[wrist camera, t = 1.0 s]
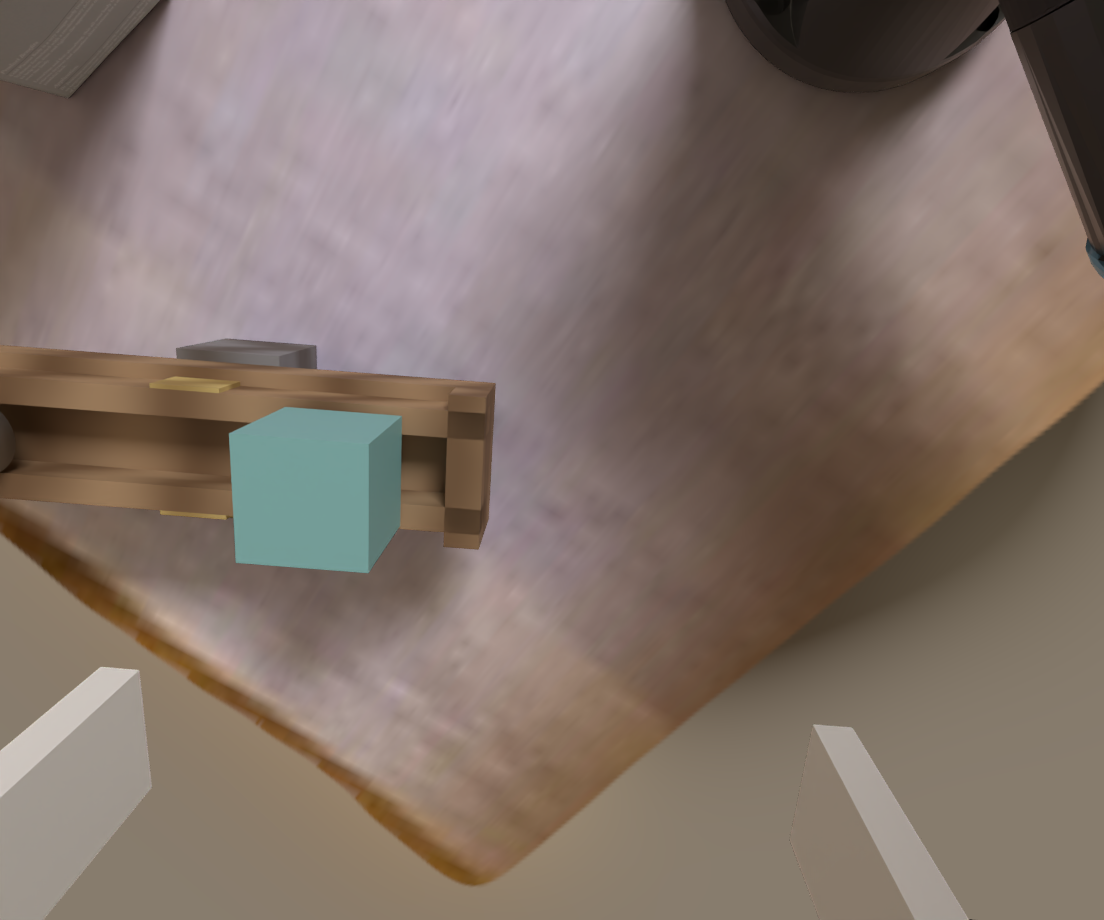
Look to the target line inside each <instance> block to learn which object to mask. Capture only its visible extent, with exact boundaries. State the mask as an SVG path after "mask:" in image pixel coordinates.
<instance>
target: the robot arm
mask: <svg viewBox="0 0 1104 920" xmlns="http://www.w3.org/2000/svg"><path fill="white" fill-rule="evenodd" d="M726 3H727V5H728V7H729V9H730V11H731V13H732V15H733V17H734V19H735V21H736V22H737V24H738V26H739V27H740V29H741V30H742V32H743V33H744V35H745V36H746V37H747V39H748V40H749V41H750V42H751V44H752V45H753V46H754V47H755V48H756V49H757V50H758V51H759V52H760V53H761V54H762V55H763V56H764V57H765V58H766V59H767V60H768V61H770V62H771V63H772V64H773V65H775V66H776V67H777V68H779V69H780V70H782V71H783V72H785V73H787V74H788V75H790V76H792V77H794V78H796V79H798V80H800V81H802V82H805V83H807V84H810V85H813V86H816V87H819V88H823V89H828V90H833V91H840V92H871V91H879V90H884V89H889V88H893V87H896V86H900V85H903V84H906V83H908V82H911V81H914V80H916V79H918V78H920V77H923V76H925V75H927V74H929V73H931V72H932V71H934V70H936V69H938V68H940V67H941V66H943V65H945V64H947V63H948V62H950V61H952V60H954V59H956V58H957V57H959V56H960V55H962V54H964V53H965V52H967V51H968V50H970V49H971V48H972V47H974V46H975V45H976V44H978V43H979V42H980V41H982V40H983V39H984V38H985V37H986V36H987V35H989V34H990V33H991V32H992V31H993V30H994V29H995V28H996V27H998V26H999V25H1000V24H1001V23H1002V22H1003V21H1004V20H1005V19H1006V21H1007V24H1008V27H1009V29H1010V32H1011V31H1012V32H1011V33H1010V35H1011V37H1012V40H1013V42H1014V45H1015V48H1016V50H1017V53H1018V56H1019V58H1020V61H1021V63H1022V66H1023V69H1024V71H1025V74H1026V77H1027V79H1028V82H1029V84H1030V87H1031V90H1032V92H1033V95H1034V98H1035V100H1036V103H1037V105H1038V108H1039V111H1040V113H1041V116H1042V119H1043V121H1044V124H1045V126H1046V129H1047V132H1048V134H1049V137H1050V139H1051V142H1052V145H1053V147H1054V150H1055V153H1056V155H1057V158H1058V160H1059V163H1060V166H1061V168H1062V171H1063V174H1064V176H1065V179H1066V181H1067V184H1068V187H1069V189H1070V192H1071V195H1072V197H1073V200H1074V202H1075V205H1076V208H1077V210H1078V213H1079V216H1080V218H1081V221H1082V223H1083V226H1084V229H1085V231H1086V234H1087V237H1088V239H1087V243H1086V251H1087V254H1088V256H1089V259H1090V262H1091V264H1092V265H1093V267H1094V268H1095V269H1096V271H1097V272H1098V274H1099V275H1100V276H1102V277H1103V278H1104V0H726ZM151 788H152V785H151V776H150V766H149V756H148V747H147V739H146V729H145V720H144V710H143V700H142V691H141V681H140V672H139V670H133V669H120V668H107V667H100V668H99V669H97V671H95V672H94V673H93V674H91V675H90V676H89V677H88V678H87V679H85V680H84V681H83V682H82V683H81V684H80V685H78V686H77V687H76V688H75V689H74V690H72V691H71V692H70V693H69V694H68V695H66V696H65V697H64V698H63V699H62V700H60V701H59V702H58V703H57V704H56V705H54V706H53V707H52V708H51V709H50V710H48V711H47V712H46V713H45V714H44V715H42V716H41V717H40V718H39V719H38V720H37V721H35V722H34V723H33V724H32V725H31V726H29V727H28V728H27V729H26V730H25V731H23V732H22V733H21V734H20V735H19V736H17V737H16V738H15V739H14V740H13V741H12V742H10V743H9V744H8V745H7V746H5V747H4V748H3V749H2V750H1V751H0V920H44V919H45V917H46V916H47V915H48V914H49V912H50V911H51V910H52V909H53V908H54V906H55V905H56V904H57V903H58V901H59V900H60V899H61V898H62V897H63V895H64V894H65V893H66V892H67V890H68V889H69V888H70V887H71V886H72V884H73V883H74V882H75V881H76V879H77V878H78V877H79V876H80V874H81V873H82V872H83V871H84V870H85V868H86V867H87V866H88V865H89V864H90V862H91V861H92V860H93V859H94V857H95V856H96V855H97V854H98V853H99V851H100V850H101V849H102V848H103V846H104V845H105V844H106V843H107V841H108V840H109V839H110V838H111V837H112V835H113V834H114V833H115V832H116V831H117V829H118V828H119V827H120V826H121V824H122V823H123V822H124V821H125V819H126V818H127V817H128V816H129V815H130V813H131V812H132V811H133V809H135V807H136V806H137V805H138V804H139V802H140V801H141V800H142V799H143V798H144V796H145V795H146V794H147V793H148V791H149V790H150V789H151ZM789 841H790V843H791V846H792V848H793V851H794V854H795V856H796V859H797V862H798V864H799V867H800V870H801V872H802V875H803V878H804V880H805V883H806V886H807V888H808V891H809V894H810V896H811V899H812V902H813V904H814V907H815V910H816V912H817V915H818V918H819V920H971V919H968V917H967V915H966V914H965V912H964V911H963V909H962V907H961V906H960V904H959V902H958V901H957V899H956V897H955V896H954V894H953V893H952V891H951V889H950V888H949V886H948V884H947V883H946V881H945V879H944V878H943V876H942V874H941V873H940V871H939V869H938V868H937V866H936V864H935V863H934V861H933V859H932V858H931V856H930V855H929V853H928V851H927V850H926V848H925V846H924V845H923V843H922V841H921V840H920V838H919V836H918V835H917V833H916V832H915V830H914V828H913V826H912V825H911V823H910V821H909V820H908V818H907V817H906V815H905V813H904V812H903V810H902V808H901V807H900V805H899V803H898V802H897V800H896V798H895V797H894V795H893V794H892V792H891V790H890V789H889V787H888V785H887V784H886V782H885V780H884V779H883V777H882V775H881V774H880V772H879V770H878V769H877V767H876V766H875V764H874V762H873V760H872V759H871V757H870V756H869V754H868V752H867V751H866V749H865V747H864V746H863V744H862V742H861V741H860V739H859V737H858V736H857V734H856V733H855V731H854V729H853V728H852V727H840V726H827V725H814V724H813V726H812V730H811V736H810V741H809V746H808V750H807V755H806V760H805V765H804V770H803V775H802V780H801V785H800V790H799V795H798V800H797V805H796V810H795V815H794V820H793V824H792V830H791V834H790V839H789Z"/></svg>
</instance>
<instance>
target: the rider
mask: <svg viewBox="0 0 1104 920" xmlns="http://www.w3.org/2000/svg"><path fill="white" fill-rule="evenodd" d="M229 445H230V463H231V482H232V501H233V519H234V538H235V557H236V563H245V564H257V565H270V566H283V567H296V568H309V569H322V570H334V571H347V572H360V573H369V572H370V570H371V569H372V567H373V566H374V564H375V563H376V561H377V560H378V558H379V557H380V555H381V554H382V552H383V551H384V549H385V548H386V546H387V545H388V543H389V542H390V540H391V539H392V537H393V536H394V534H395V533H396V531H397V530H398V528H399V527H400V511H401V446H402V416H397V415H384V414H371V413H358V412H345V411H332V410H319V409H306V408H293V407H284V408H282V409H280V410H278V411H275V412H273V413H271V414H269V415H267V416H265V417H263V418H261V419H258V420H256V421H254V422H252V423H250V424H248V425H246V426H244V427H241V428H239V429H237V430H235V431H233V432H231V433H229Z"/></svg>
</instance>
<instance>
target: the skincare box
mask: <svg viewBox="0 0 1104 920" xmlns="http://www.w3.org/2000/svg"><path fill="white" fill-rule="evenodd" d="M159 1H160V0H0V80H2V81H6V82H9V83H13V84H16V85H20V86H24V87H28V88H32V89H35V90H39V91H44V92H47V93H50V94H54V95H58V96H62V97H65V98H69V97H70V96H71V95H72V94H73V93H74V92H75V91H76V90H77V89H78V88H79V87H80V86H81V84H82V83H83V82H84V81H85V80H86V79H87V78H88V77H89V76H90V75H91V73H92V72H93V71H94V70H95V69H96V68H97V67H98V66H99V65H100V64H101V63H102V62H103V61H104V59H105V58H106V57H107V56H108V55H109V54H110V53H111V52H112V51H113V50H114V49H115V48H116V47H117V46H118V45H119V43H120V42H121V41H122V40H123V39H124V38H125V37H126V36H127V35H128V34H129V33H130V32H131V31H132V30H133V29H134V28H135V27H136V26H137V25H138V23H139V22H140V21H141V20H142V19H143V18H144V17H145V16H146V15H147V14H148V13H149V12H150V11H151V10H152V8H153V7H154V6H155V5H156V4H157V3H158V2H159Z"/></svg>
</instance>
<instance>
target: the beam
mask: <svg viewBox="0 0 1104 920" xmlns="http://www.w3.org/2000/svg"><path fill="white" fill-rule="evenodd" d="M176 354H177V359H175V358H162V357H149V356H136V355H123V354H110V353H97V352H84V351H71V350H57V349H44V348H31V347H18V346H5V345H0V498H8V499H21V500H34V501H46V502H59V503H72V504H85V505H98V506H111V507H124V508H136V509H149V510H160V514H161V515H173V516H186V517H199V518H212V519H225V520H226V519H228V518H229V517H230V518H233V501H232V482H231V463H230V445H229V433H231V432H233V431H235V430H237V429H239V428H241V427H244V426H246V425H248V424H250V423H252V422H254V421H256V420H258V419H261V418H263V417H265V416H267V415H269V414H271V413H273V412H275V411H278V410H280V409H282V408H284V407H293V408H306V409H319V410H332V411H345V412H358V413H371V414H384V415H397V416H402V446H401V511H400V527H399V528H398V529H407V530H420V531H432V532H444V545H443V547H453V548H466V549H479V547H480V544H481V540H482V537H483V534H484V531H485V528H486V525H487V522H488V519H489V501H490V482H491V462H492V443H493V424H494V404H495V385H496V383H487V382H474V381H461V380H448V379H435V378H422V377H409V376H396V375H383V374H370V373H357V372H344V371H331V370H318V369H317V360H316V346H314V345H301V344H288V343H275V342H262V341H249V340H236V339H222V340H217V341H212V342H207V343H201V344H196V345H191V346H186V347H180V348H176Z"/></svg>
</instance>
